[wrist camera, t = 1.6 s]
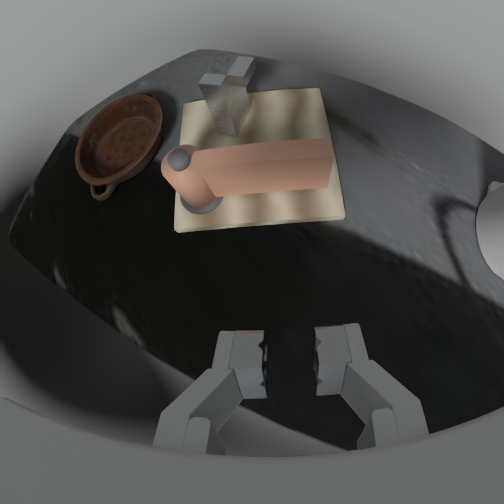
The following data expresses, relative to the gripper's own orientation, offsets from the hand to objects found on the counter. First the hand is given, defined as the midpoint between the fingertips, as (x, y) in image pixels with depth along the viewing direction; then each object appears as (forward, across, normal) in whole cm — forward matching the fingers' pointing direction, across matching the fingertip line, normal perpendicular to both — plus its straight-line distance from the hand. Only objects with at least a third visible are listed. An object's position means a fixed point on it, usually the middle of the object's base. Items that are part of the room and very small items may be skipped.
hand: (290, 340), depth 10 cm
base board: (+37, +4, +2) cm, 37 cm away
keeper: (+39, +5, -3) cm, 40 cm away
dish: (+41, +26, -2) cm, 49 cm away
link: (+31, +4, +5) cm, 31 cm away
